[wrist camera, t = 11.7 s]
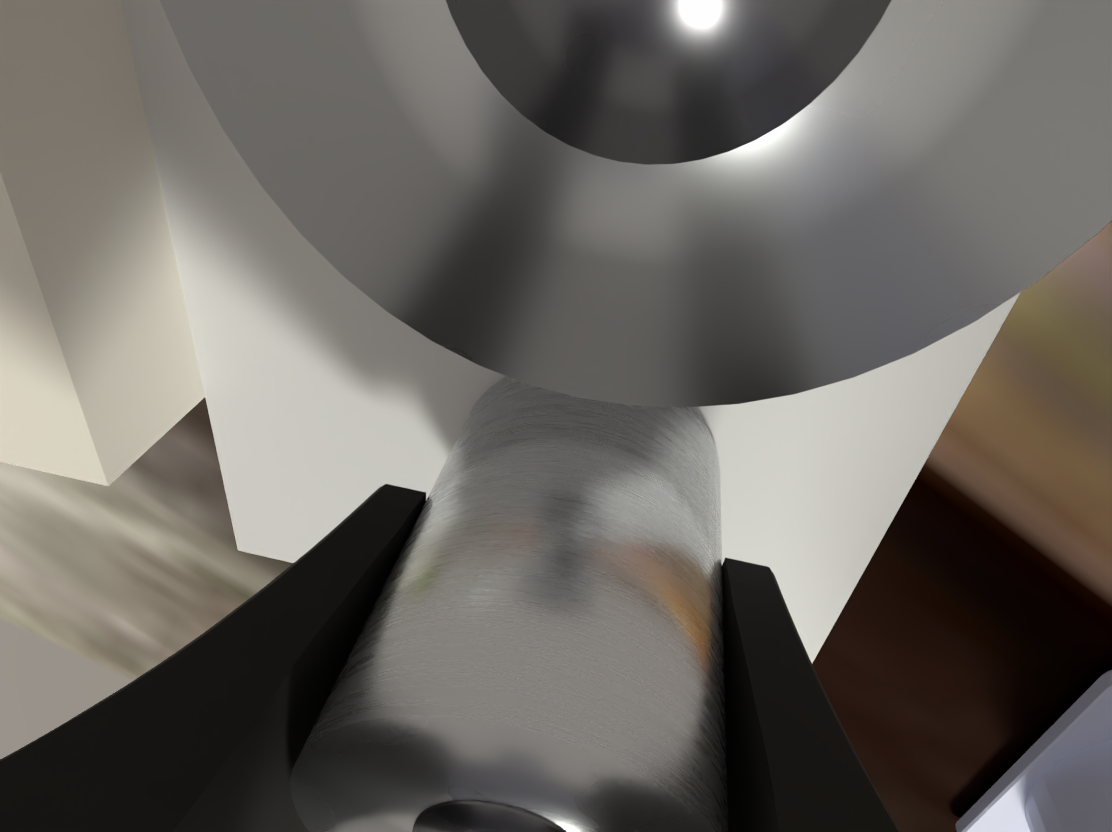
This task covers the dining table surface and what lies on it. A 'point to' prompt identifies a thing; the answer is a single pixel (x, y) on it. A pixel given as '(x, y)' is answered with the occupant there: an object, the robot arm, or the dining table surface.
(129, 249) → the scale
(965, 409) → the dining table surface
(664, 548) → the cylinder
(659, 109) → the cylinder
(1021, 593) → the dining table surface
